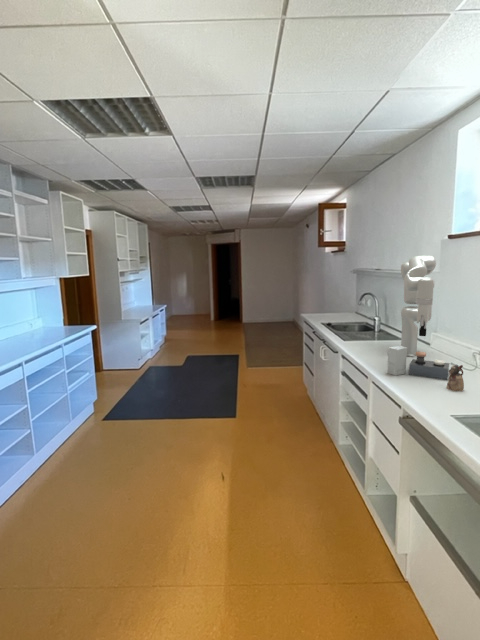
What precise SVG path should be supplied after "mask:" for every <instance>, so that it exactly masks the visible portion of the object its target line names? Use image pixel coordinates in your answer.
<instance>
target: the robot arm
mask: <svg viewBox="0 0 480 640" xmlns="http://www.w3.org/2000/svg"><path fill="white" fill-rule="evenodd" d="M436 265H437V260H436V257H434V255H415V256H411V257H410V258H409V260H408V261H406V262H402V264H401V265H400V275H401V278H402V280H403V301H404V303H405V304H407V305H408V306H404V307H403V308H401V311H400V316H401V317H400V318H401V337H400V338H401V341H400V346H403V347H406V348H407V357H417V356H416V352H418V337H419V336H420V337H426V336H427V324H428V323H429V321H431V319H432V312H433V311H432V307H433V301H434V300H433V299H434V288H435V280H434V279H433V277H430V276H429V277H426V276H428V275H431V274H432V272H433V271H434V270H435V268H436ZM409 305H411V306H409ZM412 305H413V306H412ZM414 305H415V306H414ZM416 305H417V306H416ZM416 324H419V327H418V326H417V325H416ZM418 335H419V336H418Z"/></svg>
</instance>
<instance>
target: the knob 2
mask: <svg viewBox="0 0 480 640" xmlns="http://www.w3.org/2000/svg"><path fill="white" fill-rule="evenodd" d="M433 361H434V364H435V366H442V367H443V365H444V364H445V363H446V362H445V360H442V359H434V360H433Z"/></svg>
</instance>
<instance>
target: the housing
mask: <svg viewBox="0 0 480 640" xmlns="http://www.w3.org/2000/svg"><path fill="white" fill-rule="evenodd" d="M408 365H409V366H408V368H409V369H408V375H409V376H414V377H422V378H429V379H436V380H443V381H448V380H449V376H450V375H449V370H450V363H449V362H445V364H444V365H443V367H442V366H435V364H434V360H433V361H432V360H427V359H426V360H425V359H424V364H418V363H417V358H416V359H415V358H413V359H412V360H411V361H410V362H409V364H408Z"/></svg>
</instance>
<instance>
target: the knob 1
mask: <svg viewBox="0 0 480 640" xmlns="http://www.w3.org/2000/svg"><path fill="white" fill-rule="evenodd" d="M426 356H427V352H425V351H418V350H417V352H416V356H415V357H416V359H417V363H418V364H424V360H425V357H426Z"/></svg>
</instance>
